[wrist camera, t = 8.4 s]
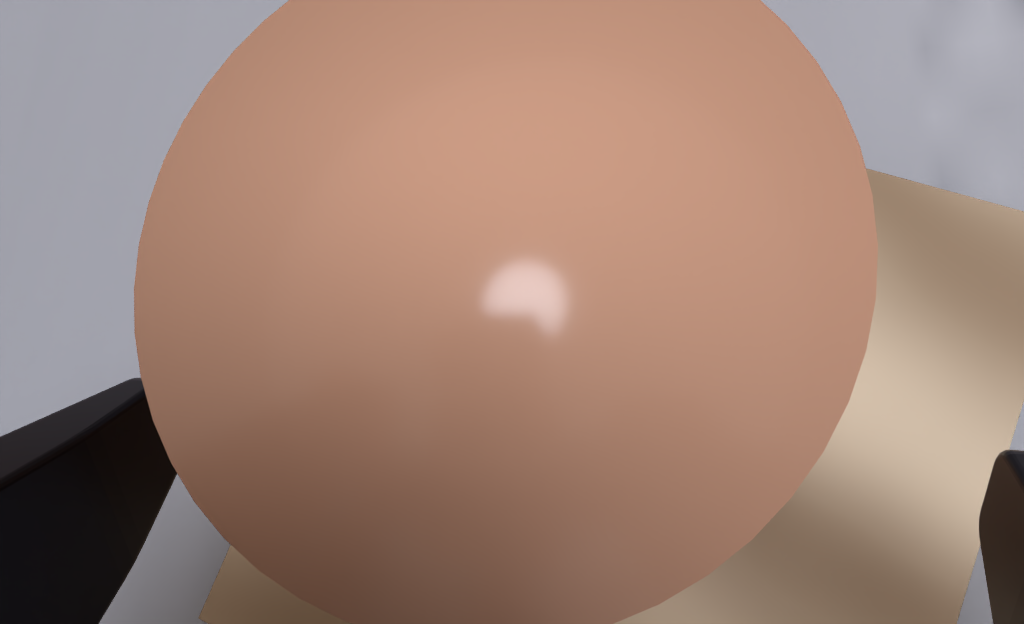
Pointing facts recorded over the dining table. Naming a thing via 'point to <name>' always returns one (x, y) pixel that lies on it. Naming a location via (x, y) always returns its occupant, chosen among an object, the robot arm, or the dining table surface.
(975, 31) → the dining table surface
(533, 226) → the tan tapered rounded cylinder
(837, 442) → the plate
